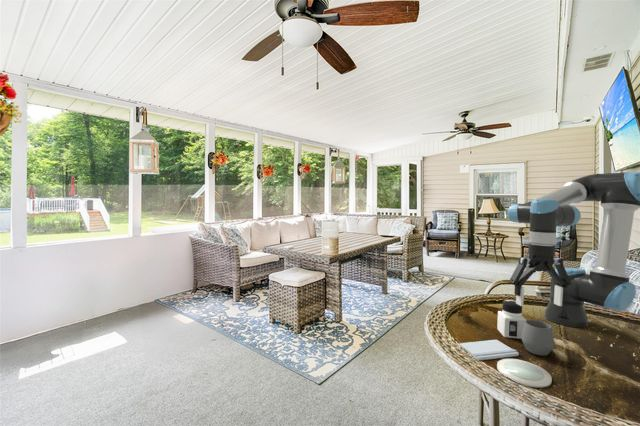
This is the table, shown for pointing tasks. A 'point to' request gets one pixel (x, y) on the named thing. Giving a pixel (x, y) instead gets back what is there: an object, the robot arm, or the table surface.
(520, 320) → the container
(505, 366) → the saucer
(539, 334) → the cup
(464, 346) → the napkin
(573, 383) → the table surface
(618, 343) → the table surface
